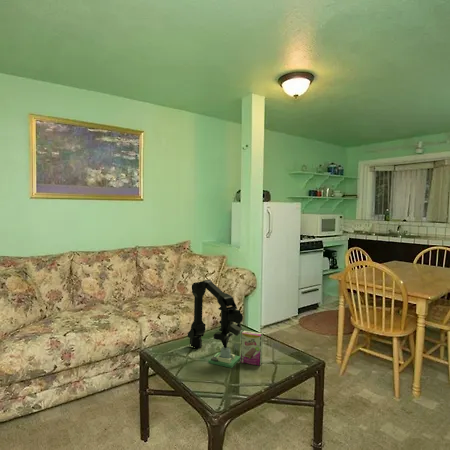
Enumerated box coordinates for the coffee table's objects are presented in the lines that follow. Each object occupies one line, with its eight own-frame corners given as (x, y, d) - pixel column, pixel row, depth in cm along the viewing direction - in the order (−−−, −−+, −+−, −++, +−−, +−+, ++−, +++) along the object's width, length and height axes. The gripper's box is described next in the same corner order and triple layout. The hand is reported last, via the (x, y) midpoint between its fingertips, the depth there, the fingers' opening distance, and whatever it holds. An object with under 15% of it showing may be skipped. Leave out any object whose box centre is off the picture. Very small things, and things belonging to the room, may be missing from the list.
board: (208, 362, 171) (208, 356, 171) (218, 354, 183) (218, 348, 183) (232, 368, 165) (232, 361, 165) (240, 358, 177) (241, 352, 177)
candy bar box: (240, 363, 172) (240, 332, 172) (242, 359, 176) (243, 330, 176) (260, 366, 168) (261, 335, 168) (262, 362, 173) (263, 332, 173)
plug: (220, 359, 172) (220, 348, 172) (223, 357, 176) (223, 346, 176) (228, 361, 170) (228, 350, 170) (231, 358, 174) (231, 347, 174)
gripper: (233, 326, 161) (232, 356, 161) (245, 316, 178) (245, 344, 178) (213, 322, 166) (212, 352, 166) (227, 314, 183) (226, 341, 183)
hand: (225, 347), depth 173 cm, fingers closed
